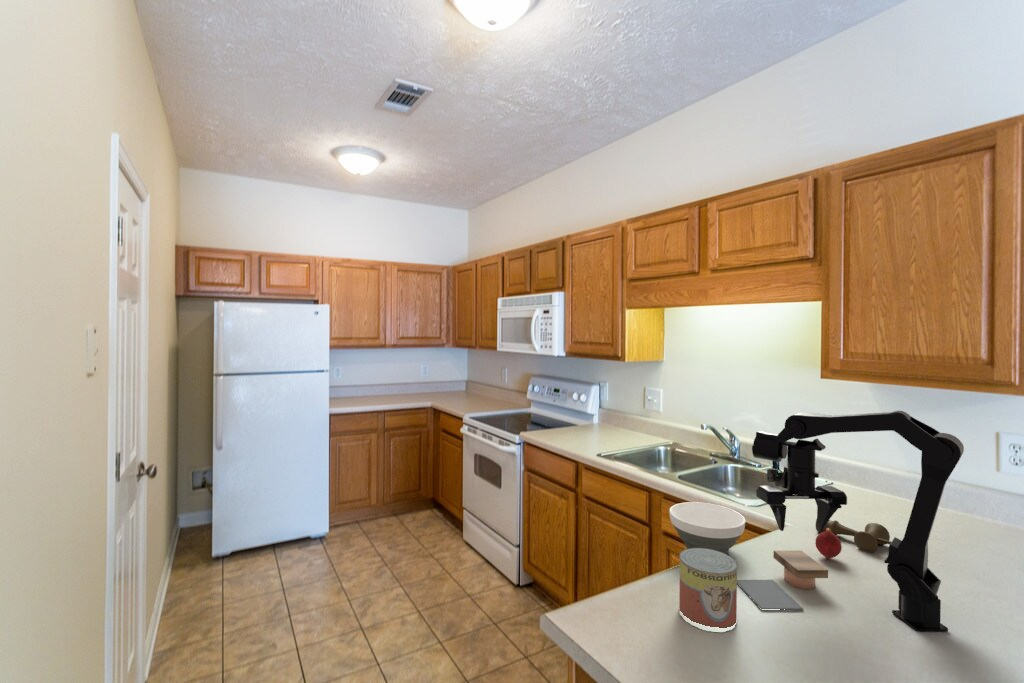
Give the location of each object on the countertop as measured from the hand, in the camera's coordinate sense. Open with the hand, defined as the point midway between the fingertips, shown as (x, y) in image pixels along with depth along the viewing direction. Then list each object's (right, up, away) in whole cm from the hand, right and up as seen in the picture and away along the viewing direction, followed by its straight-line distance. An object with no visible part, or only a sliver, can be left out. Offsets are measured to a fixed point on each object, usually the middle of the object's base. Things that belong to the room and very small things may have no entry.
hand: (800, 530), depth 114 cm
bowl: (-15, -12, +18) cm, 27 cm away
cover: (0, -9, 0) cm, 9 cm away
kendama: (+29, -13, +22) cm, 39 cm away
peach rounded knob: (0, -12, 0) cm, 12 cm away
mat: (-11, -12, -6) cm, 18 cm away
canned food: (-28, -13, -14) cm, 34 cm away
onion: (+15, -13, +12) cm, 23 cm away
